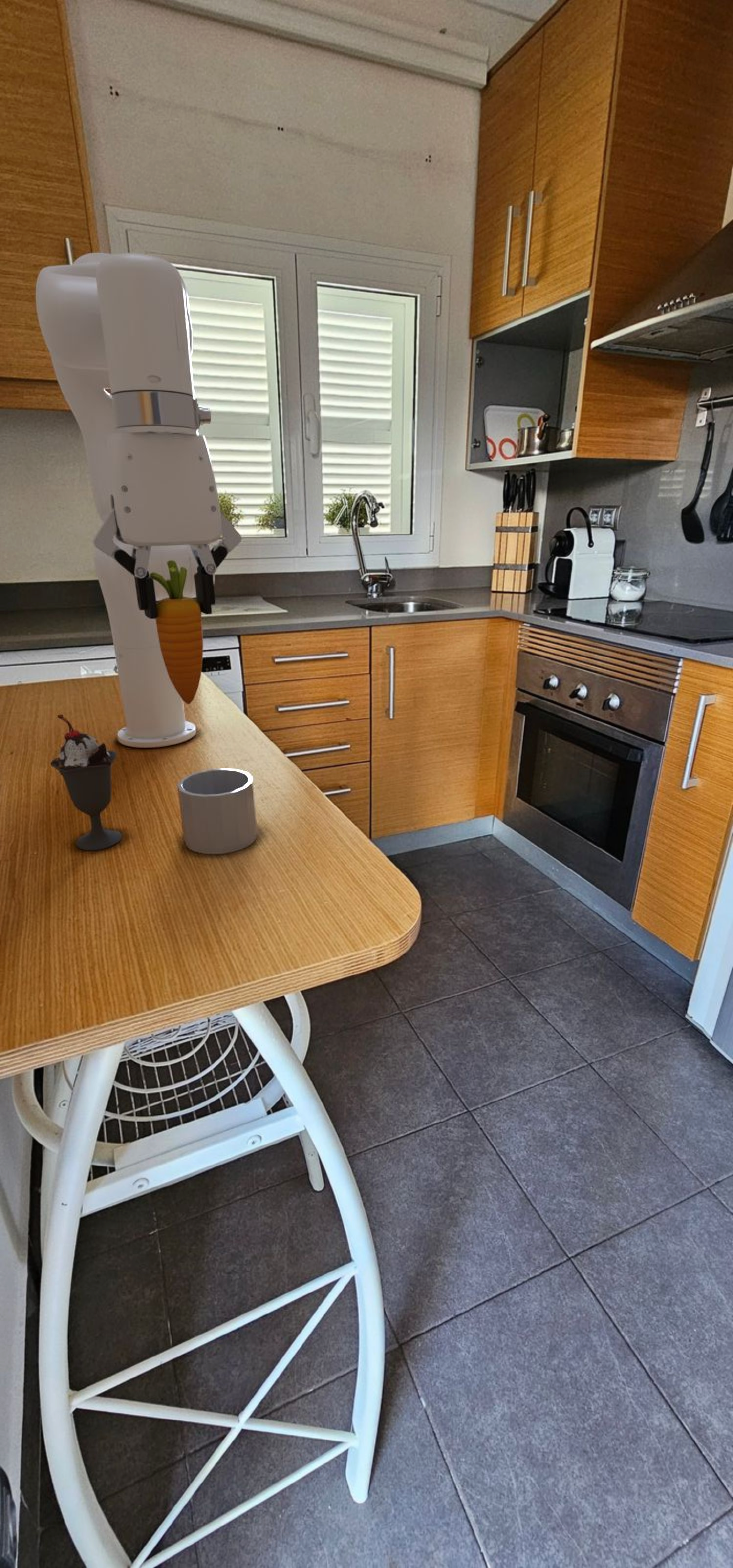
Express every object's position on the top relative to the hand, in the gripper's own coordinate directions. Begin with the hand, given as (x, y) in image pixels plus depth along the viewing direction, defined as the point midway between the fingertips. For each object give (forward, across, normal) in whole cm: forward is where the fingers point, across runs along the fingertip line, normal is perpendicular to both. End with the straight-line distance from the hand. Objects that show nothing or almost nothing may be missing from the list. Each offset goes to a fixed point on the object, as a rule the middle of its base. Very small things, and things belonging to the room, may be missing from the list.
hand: (178, 613), depth 71 cm
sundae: (+25, +11, -3) cm, 28 cm away
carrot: (+10, 0, 0) cm, 10 cm away
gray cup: (+25, -1, +4) cm, 25 cm away
